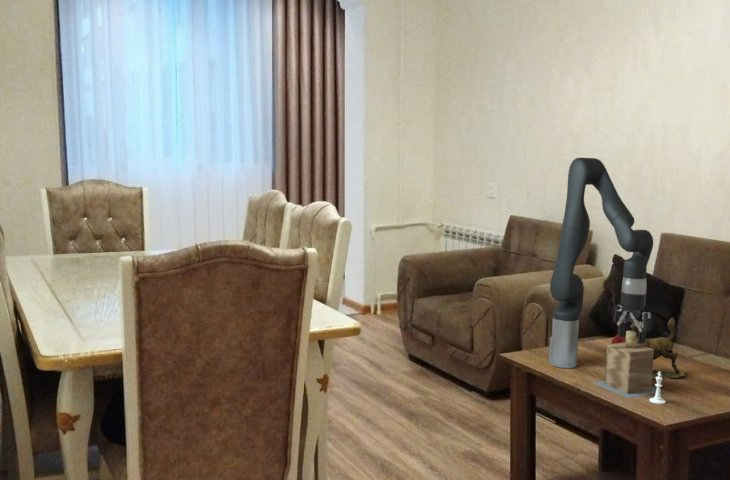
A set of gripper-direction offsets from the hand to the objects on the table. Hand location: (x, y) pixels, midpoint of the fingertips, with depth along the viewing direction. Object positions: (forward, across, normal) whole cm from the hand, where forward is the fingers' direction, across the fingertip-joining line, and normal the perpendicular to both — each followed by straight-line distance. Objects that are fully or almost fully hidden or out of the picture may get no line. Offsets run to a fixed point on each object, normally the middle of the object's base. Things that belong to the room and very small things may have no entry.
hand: (631, 339), depth 243 cm
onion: (+16, -33, +29) cm, 47 cm away
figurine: (+16, -6, +18) cm, 25 cm away
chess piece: (+17, +14, -2) cm, 22 cm away
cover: (+16, 0, 0) cm, 16 cm away
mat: (+16, 0, 0) cm, 16 cm away
